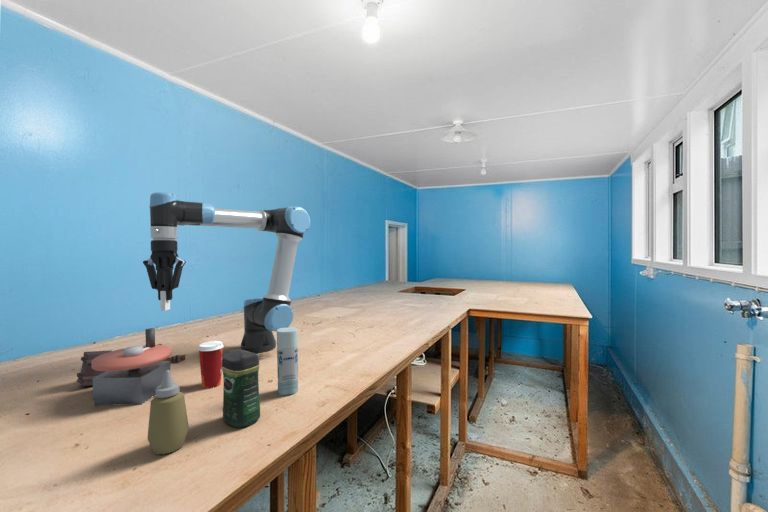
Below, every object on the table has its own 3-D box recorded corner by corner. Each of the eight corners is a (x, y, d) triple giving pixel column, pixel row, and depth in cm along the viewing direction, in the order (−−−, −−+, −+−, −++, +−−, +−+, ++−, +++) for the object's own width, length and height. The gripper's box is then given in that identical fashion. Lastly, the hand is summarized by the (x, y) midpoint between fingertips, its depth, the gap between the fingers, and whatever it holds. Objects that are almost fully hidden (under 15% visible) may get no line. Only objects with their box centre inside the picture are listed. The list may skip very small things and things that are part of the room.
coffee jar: (265, 419, 90) (264, 350, 90) (237, 432, 84) (236, 359, 83) (245, 408, 96) (244, 344, 95) (218, 420, 90) (216, 351, 89)
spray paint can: (276, 389, 109) (275, 328, 108) (296, 385, 111) (296, 326, 111) (278, 397, 103) (277, 333, 102) (300, 393, 105) (299, 330, 105)
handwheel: (144, 380, 96) (143, 344, 95) (72, 381, 95) (71, 345, 95) (184, 356, 116) (183, 327, 115) (125, 357, 115) (124, 327, 115)
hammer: (74, 381, 112) (81, 351, 113) (178, 371, 138) (182, 346, 139) (80, 386, 108) (87, 355, 109) (186, 374, 134) (190, 349, 136)
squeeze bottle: (160, 438, 81) (158, 365, 81) (195, 436, 82) (193, 364, 81) (139, 459, 73) (137, 378, 73) (178, 457, 74) (176, 377, 73)
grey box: (170, 384, 113) (170, 360, 113) (142, 404, 99) (141, 377, 99) (128, 385, 113) (127, 361, 112) (93, 404, 99) (92, 378, 98)
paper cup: (229, 382, 115) (228, 341, 114) (211, 391, 107) (210, 348, 107) (211, 379, 117) (210, 339, 117) (192, 388, 110) (191, 345, 110)
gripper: (136, 239, 108) (137, 312, 109) (177, 239, 109) (178, 311, 109) (151, 239, 116) (153, 307, 116) (190, 239, 116) (191, 307, 117)
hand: (165, 309), depth 113 cm, fingers closed
